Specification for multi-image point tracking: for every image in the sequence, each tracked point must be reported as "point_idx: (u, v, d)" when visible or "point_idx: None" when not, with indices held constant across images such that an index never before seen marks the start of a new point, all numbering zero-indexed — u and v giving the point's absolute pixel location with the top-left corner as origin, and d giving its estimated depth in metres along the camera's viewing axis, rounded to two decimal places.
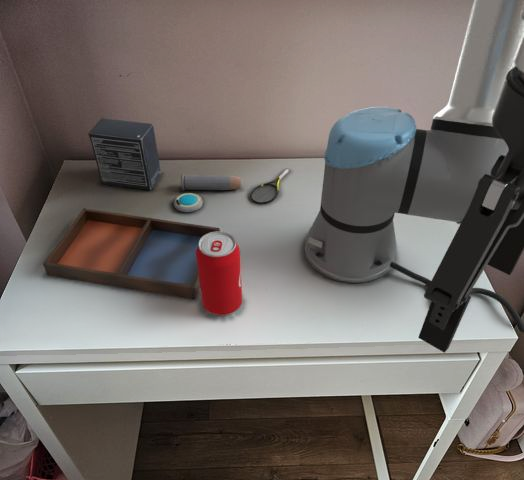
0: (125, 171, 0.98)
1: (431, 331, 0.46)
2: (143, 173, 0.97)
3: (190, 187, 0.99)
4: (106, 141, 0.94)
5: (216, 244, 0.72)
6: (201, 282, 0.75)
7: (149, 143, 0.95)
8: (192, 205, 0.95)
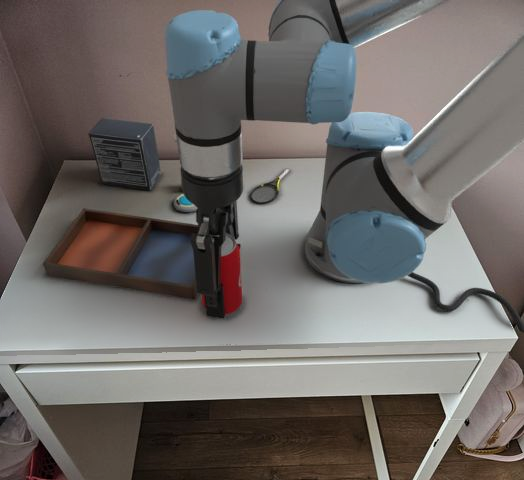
0: (125, 171, 0.98)
1: (211, 310, 0.77)
2: (143, 173, 0.97)
3: None
4: (106, 141, 0.94)
5: None
6: None
7: (149, 143, 0.95)
8: (192, 205, 0.95)
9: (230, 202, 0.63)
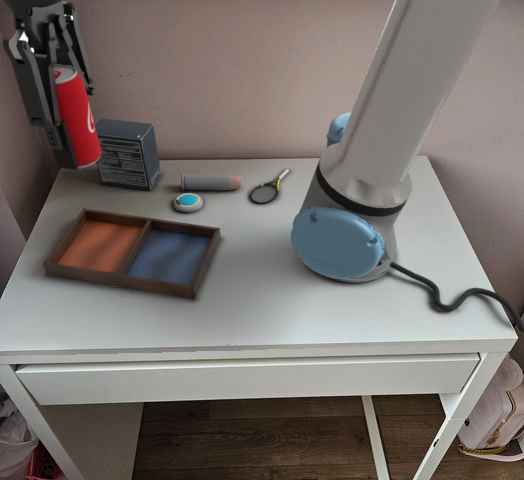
0: (125, 171, 0.98)
1: (61, 157, 0.70)
2: (143, 173, 0.97)
3: (190, 187, 0.99)
4: (106, 141, 0.94)
5: None
6: None
7: (149, 143, 0.95)
8: (192, 205, 0.95)
9: (46, 2, 0.57)
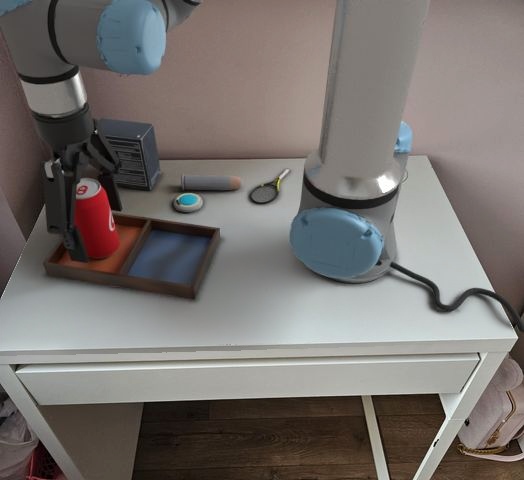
0: (125, 171, 0.98)
1: (73, 253, 0.80)
2: (143, 173, 0.97)
3: (190, 187, 0.99)
4: None
5: (82, 188, 0.79)
6: (74, 225, 0.82)
7: (149, 143, 0.95)
8: (192, 205, 0.95)
9: (78, 140, 0.70)
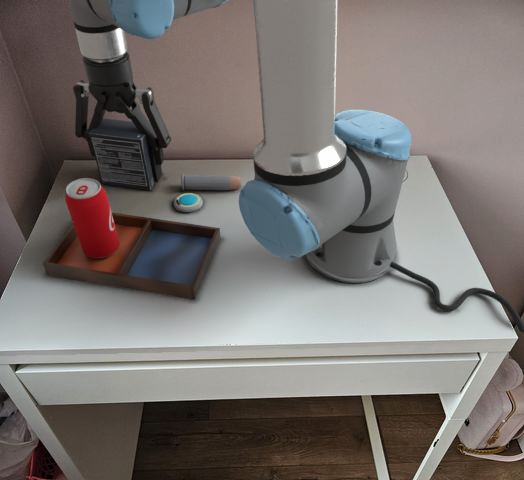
0: (125, 171, 0.98)
1: None
2: (143, 173, 0.97)
3: (190, 187, 0.99)
4: (106, 141, 0.94)
5: (82, 188, 0.79)
6: (74, 225, 0.82)
7: None
8: (192, 205, 0.95)
9: (89, 80, 0.86)
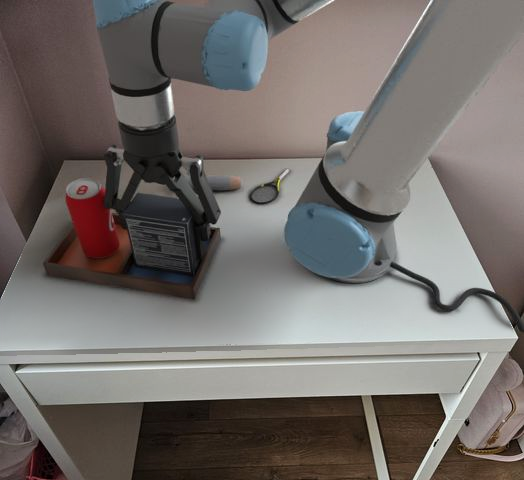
0: (165, 255, 0.82)
1: None
2: (186, 259, 0.81)
3: None
4: (144, 223, 0.78)
5: (82, 188, 0.79)
6: (74, 225, 0.82)
7: None
8: None
9: (125, 149, 0.69)
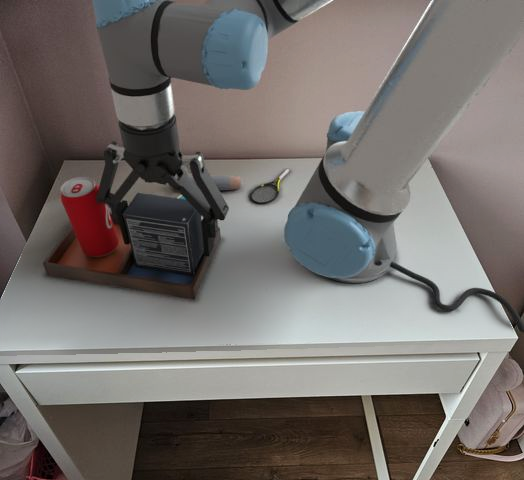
0: (165, 255, 0.82)
1: None
2: (186, 259, 0.81)
3: None
4: (144, 224, 0.78)
5: (77, 186, 0.79)
6: None
7: (195, 225, 0.79)
8: None
9: (126, 149, 0.69)
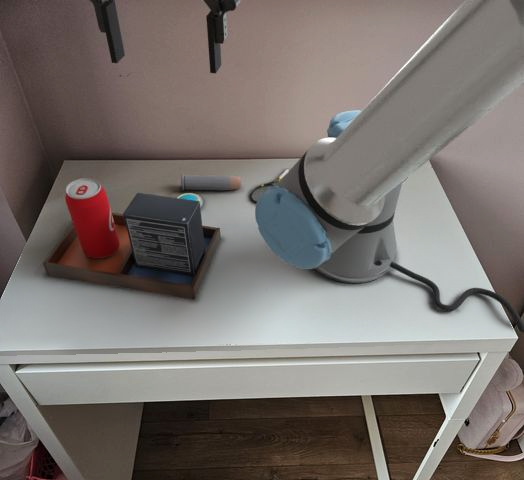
0: (165, 255, 0.82)
1: None
2: (186, 259, 0.81)
3: (190, 187, 0.99)
4: (144, 224, 0.78)
5: (82, 188, 0.79)
6: (74, 225, 0.82)
7: (195, 225, 0.79)
8: None
9: None
